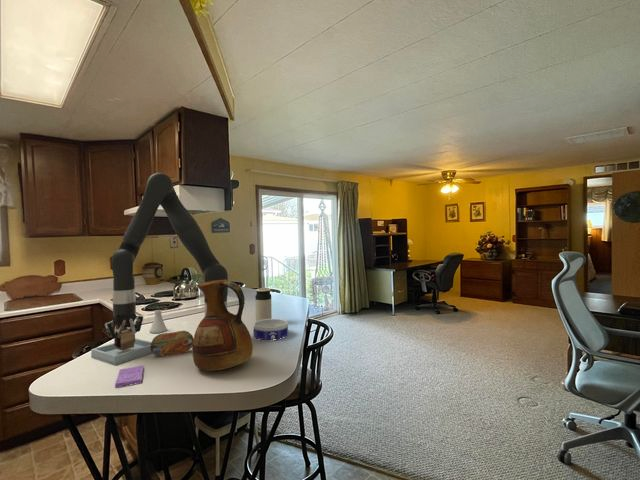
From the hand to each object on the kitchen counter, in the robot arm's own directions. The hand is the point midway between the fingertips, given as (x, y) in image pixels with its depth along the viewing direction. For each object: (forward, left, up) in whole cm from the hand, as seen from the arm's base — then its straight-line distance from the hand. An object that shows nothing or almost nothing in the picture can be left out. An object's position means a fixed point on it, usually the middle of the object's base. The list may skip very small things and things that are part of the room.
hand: (125, 345), depth 124 cm
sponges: (-23, +11, -4) cm, 26 cm away
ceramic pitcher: (-42, -10, -3) cm, 43 cm away
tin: (-16, -9, -4) cm, 19 cm away
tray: (0, 0, -3) cm, 3 cm away
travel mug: (-20, -58, -3) cm, 61 cm away
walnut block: (0, 0, -1) cm, 1 cm away
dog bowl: (-35, -45, -4) cm, 57 cm away
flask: (+17, -25, -4) cm, 30 cm away
